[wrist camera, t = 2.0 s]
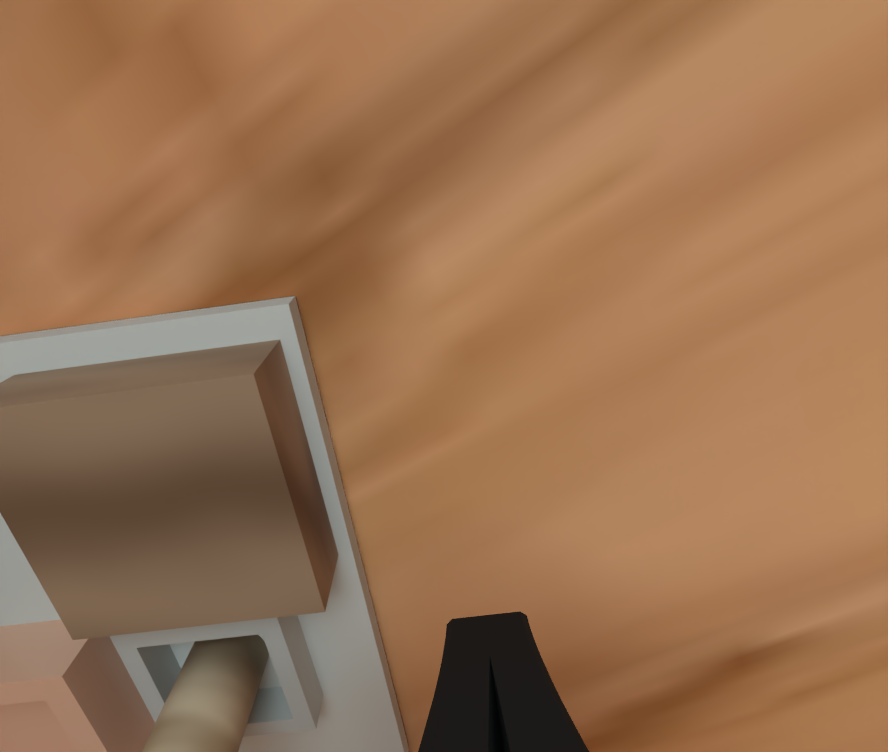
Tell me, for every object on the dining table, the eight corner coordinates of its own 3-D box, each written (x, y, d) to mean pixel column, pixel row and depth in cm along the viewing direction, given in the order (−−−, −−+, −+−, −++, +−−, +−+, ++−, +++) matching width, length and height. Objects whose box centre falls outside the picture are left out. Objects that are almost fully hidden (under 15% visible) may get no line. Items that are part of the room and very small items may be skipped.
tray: (192, 781, 24) (166, 849, 22) (-26, 802, 24) (-74, 872, 22) (104, 614, 20) (61, 676, 18) (-154, 643, 20) (-230, 708, 18)
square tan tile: (338, 554, 19) (325, 611, 17) (116, 580, 19) (73, 639, 17) (280, 339, 16) (253, 373, 13) (14, 374, 16) (-57, 414, 14)
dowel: (276, 672, 21) (207, 904, 15) (207, 679, 21) (108, 913, 15) (257, 620, 20) (173, 846, 14) (183, 628, 20) (66, 856, 14)
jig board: (408, 748, 24) (403, 882, 20) (-18, 790, 25) (-113, 928, 21) (295, 296, 16) (242, 356, 12) (-338, 382, 17) (-612, 469, 12)
